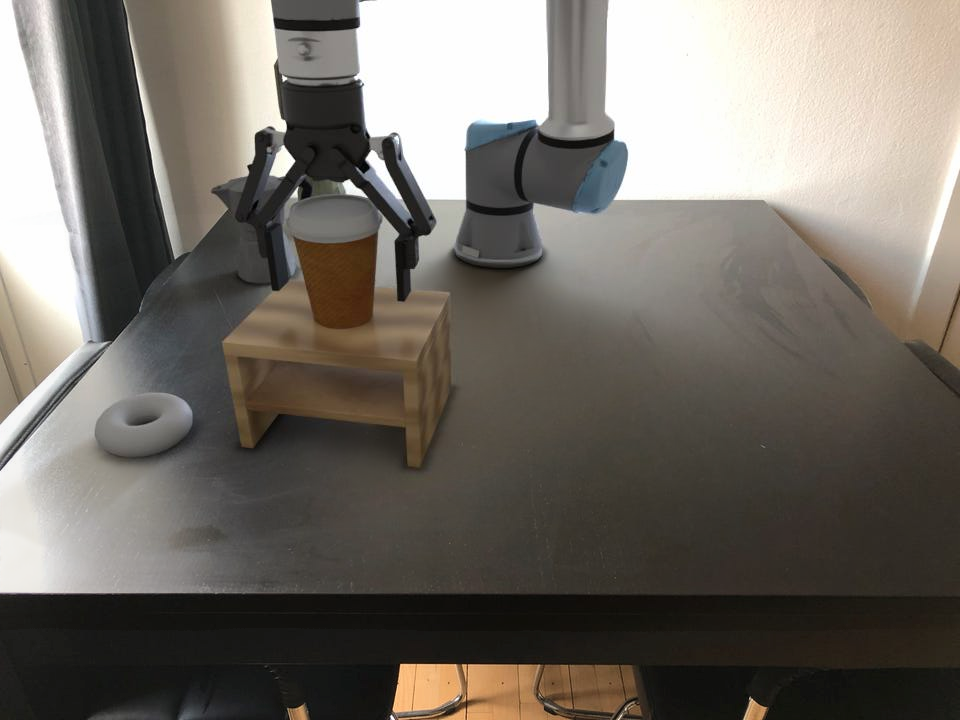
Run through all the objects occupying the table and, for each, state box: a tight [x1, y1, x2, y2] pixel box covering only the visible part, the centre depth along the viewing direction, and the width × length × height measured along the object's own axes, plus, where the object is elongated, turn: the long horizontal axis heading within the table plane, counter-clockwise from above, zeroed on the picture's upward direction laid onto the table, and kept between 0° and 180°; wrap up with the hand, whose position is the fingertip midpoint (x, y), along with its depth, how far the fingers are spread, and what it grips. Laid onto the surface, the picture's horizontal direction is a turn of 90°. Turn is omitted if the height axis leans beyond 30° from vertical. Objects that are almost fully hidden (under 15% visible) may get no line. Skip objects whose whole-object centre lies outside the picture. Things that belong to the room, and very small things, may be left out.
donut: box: [94, 392, 193, 458], centre depth 81 cm, size 10×4×10 cm
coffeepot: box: [210, 163, 313, 285], centre depth 118 cm, size 15×9×18 cm, turn 113°
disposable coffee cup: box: [285, 193, 384, 328], centre depth 76 cm, size 10×10×12 cm
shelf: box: [221, 279, 452, 469], centre depth 83 cm, size 16×20×13 cm
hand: (341, 291), depth 78 cm, fingers open, 13 cm apart
